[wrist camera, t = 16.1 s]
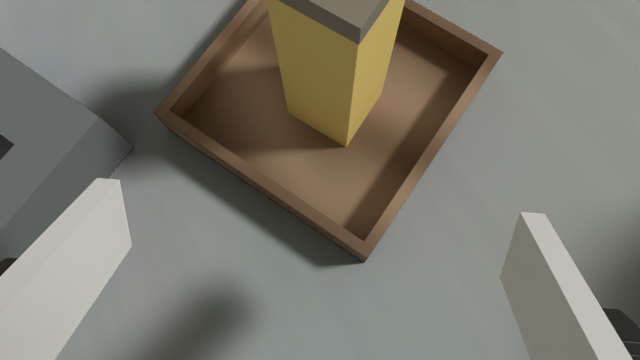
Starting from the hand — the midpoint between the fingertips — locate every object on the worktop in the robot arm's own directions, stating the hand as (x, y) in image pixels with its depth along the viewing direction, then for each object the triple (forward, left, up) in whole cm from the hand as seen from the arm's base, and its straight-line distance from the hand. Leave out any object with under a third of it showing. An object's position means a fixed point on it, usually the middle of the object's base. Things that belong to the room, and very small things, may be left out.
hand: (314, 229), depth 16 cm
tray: (-8, -5, -11) cm, 15 cm away
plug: (-8, -4, -10) cm, 14 cm away
